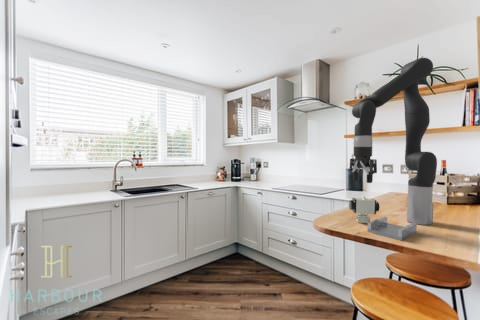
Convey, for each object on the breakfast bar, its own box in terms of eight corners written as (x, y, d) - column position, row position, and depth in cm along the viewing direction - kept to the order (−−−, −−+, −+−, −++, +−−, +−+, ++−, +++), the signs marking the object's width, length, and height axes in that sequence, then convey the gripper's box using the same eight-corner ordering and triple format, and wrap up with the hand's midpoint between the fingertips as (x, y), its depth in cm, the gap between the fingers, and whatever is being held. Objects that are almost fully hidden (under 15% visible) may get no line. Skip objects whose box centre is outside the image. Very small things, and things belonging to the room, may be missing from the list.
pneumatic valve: (378, 225, 105) (380, 198, 105) (350, 222, 108) (351, 196, 107) (374, 221, 111) (375, 196, 110) (347, 219, 113) (348, 194, 113)
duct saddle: (384, 224, 106) (384, 216, 106) (416, 232, 96) (416, 223, 96) (367, 231, 96) (367, 222, 96) (401, 240, 86) (401, 230, 86)
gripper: (382, 145, 101) (381, 183, 101) (358, 146, 115) (358, 179, 115) (367, 145, 99) (366, 184, 100) (345, 146, 113) (344, 180, 114)
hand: (362, 181), depth 108 cm, fingers open, 8 cm apart
